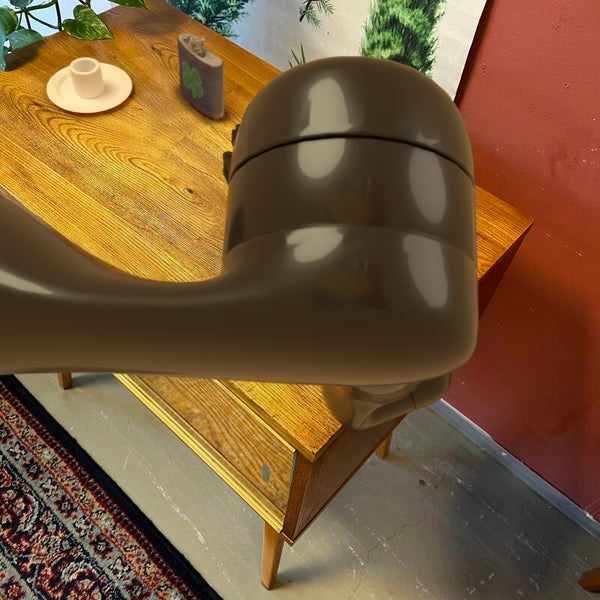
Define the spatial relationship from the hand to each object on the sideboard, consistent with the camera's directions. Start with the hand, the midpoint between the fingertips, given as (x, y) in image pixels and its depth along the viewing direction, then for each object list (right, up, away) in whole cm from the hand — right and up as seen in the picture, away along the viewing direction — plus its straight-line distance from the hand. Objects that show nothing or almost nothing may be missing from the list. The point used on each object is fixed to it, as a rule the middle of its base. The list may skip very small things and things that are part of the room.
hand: (276, 125), depth 73 cm
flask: (-12, +9, +24) cm, 29 cm away
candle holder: (-28, +11, +24) cm, 39 cm away
